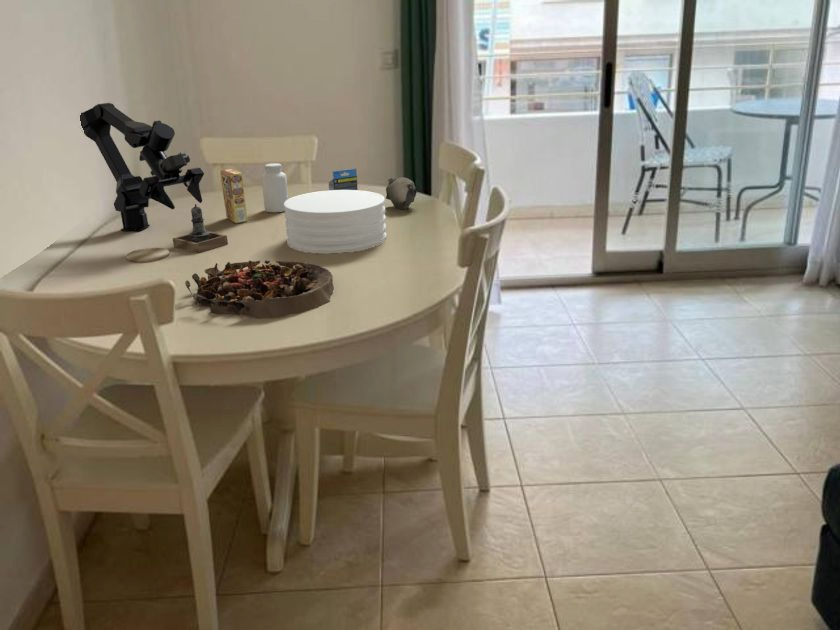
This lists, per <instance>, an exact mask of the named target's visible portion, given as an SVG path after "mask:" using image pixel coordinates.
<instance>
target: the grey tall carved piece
mask: <svg viewBox="0 0 840 630" xmlns="http://www.w3.org/2000/svg"><path fill="white" fill-rule="evenodd" d="M190 213H191V222H192V231H191V232H189V233H188V234H189V236H190V238H191V240H192V241H193V242H194V243H198V242H202V241H206V240H208V239H209V234H210V232H211V231H210V232H209V230H206V228H205V224H204V223H205V222H204V221H205V218H204V217H203V210H202V208H201V207H200V206H198V204H197V203H195V204H194V207H191V210H190Z"/></svg>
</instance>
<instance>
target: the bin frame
mask: <svg viewBox="0 0 840 630" xmlns="http://www.w3.org/2000/svg"><path fill="white" fill-rule="evenodd" d="M208 231H209V230H208ZM209 232H210V234H209V239H208V240H206V241H202V242H198V243H195V242H193V241H192V240H191V238H190V236H189V233H188V234H185V235H180V236H176V237H173V238H172V242H173V243H172V245H173V248H176V249H180V250H183V251H184V250H185V251H188V252H191V253H195V254H197V253H202V252H205V251H209V250H213V249H215V248H219V247H223V246H227V245H228V244H229V242H228V235H227V234H222V233H217V232H213V231H209Z"/></svg>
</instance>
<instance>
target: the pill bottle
mask: <svg viewBox="0 0 840 630" xmlns="http://www.w3.org/2000/svg"><path fill="white" fill-rule="evenodd" d="M264 169H265V170H264V171H265V172H264V173H263V174H262V175H261V186H262V195H263V207H264V212H267V213H277V214H278V213H283V212H284V213H285V211H286V210H285V209H284V202H285V201H286V200H288V199H289V193H288V192H289V190H288V182H287V174H286V173H285V172H282V170H283V167H282V164H281V163H276V162H275V163H267V164H265V165H264Z"/></svg>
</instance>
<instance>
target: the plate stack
mask: <svg viewBox="0 0 840 630" xmlns="http://www.w3.org/2000/svg"><path fill="white" fill-rule="evenodd" d="M385 199H386V197H385V196H383V195H382V194H381V193H378V192H374V191H373V192H372V191H369V190H360V189H358V190H329V189H328V190H320V191H313V192H306V193H303V194H302V193H301V194H298V195H295V196H292V197H288V200H286V201H285V202H284V209H285V210H286V211H284V219H285V227H286V231H285V233H286V236H287V239H286V240H287V241H286V243H287V246H288V247H289V248H291V249H292V248H293V250H294V251H297V250H298V251H299V252H301V251H304V252H303V253H307V252H312V253H311V254H316V253H339V254H342V253H341V252H350V253H353V252H352V251H357V252H360V251H359V250H362V251H365V250H364V249H366V250H369V249H368V248H370V249H372V248H371V247H373V246H376V247H378V246H380V245H382V244H383V243H385V242H384V241H386V240H387V232H386V231H387V224H386V219H387V217H386V214H385V213H386V207H385V205H386V200H385ZM382 242H383V243H382ZM381 243H382V244H381ZM379 244H380V245H379ZM377 245H378V246H377ZM373 248H374V247H373Z"/></svg>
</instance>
